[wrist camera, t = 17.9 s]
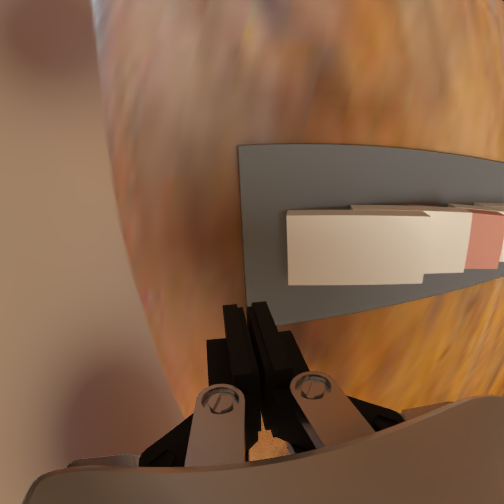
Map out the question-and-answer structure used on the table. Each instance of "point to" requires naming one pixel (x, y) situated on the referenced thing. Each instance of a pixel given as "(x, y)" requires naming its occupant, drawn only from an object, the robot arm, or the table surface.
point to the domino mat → (340, 198)
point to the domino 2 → (440, 235)
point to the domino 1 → (356, 247)
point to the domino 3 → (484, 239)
